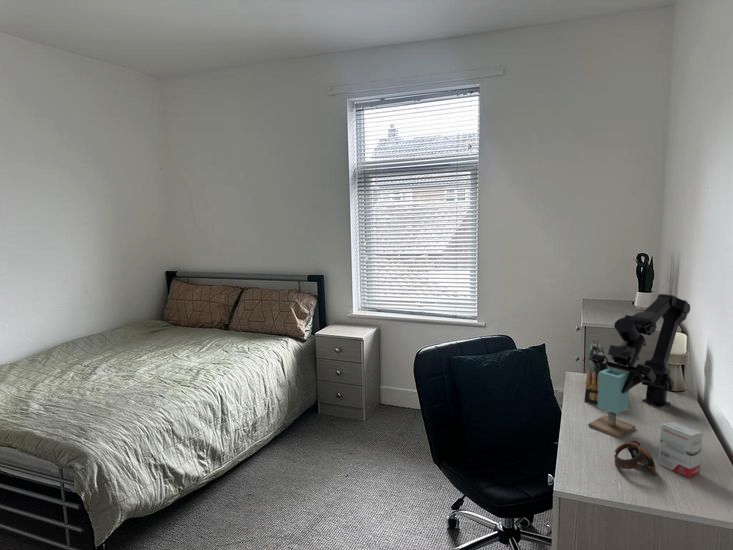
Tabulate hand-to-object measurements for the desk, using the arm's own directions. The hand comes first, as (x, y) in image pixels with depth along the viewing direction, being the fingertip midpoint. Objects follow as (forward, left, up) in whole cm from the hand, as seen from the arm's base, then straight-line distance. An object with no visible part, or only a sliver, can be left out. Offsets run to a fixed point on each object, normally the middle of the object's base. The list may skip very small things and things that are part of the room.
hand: (611, 389), depth 153 cm
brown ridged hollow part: (+13, +19, -14) cm, 27 cm away
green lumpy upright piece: (-21, -24, -13) cm, 35 cm away
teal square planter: (-1, 0, -7) cm, 7 cm away
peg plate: (-1, 0, -13) cm, 13 cm away
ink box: (+3, +25, -13) cm, 28 cm away
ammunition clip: (-13, -15, -13) cm, 24 cm away
